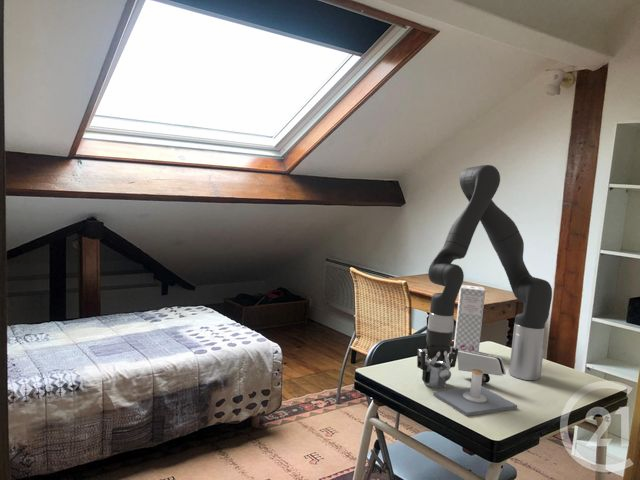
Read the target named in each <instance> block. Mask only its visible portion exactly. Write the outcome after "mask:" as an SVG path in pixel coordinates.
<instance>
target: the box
mask: <svg viewBox="0 0 640 480" xmlns="http://www.w3.org/2000/svg"><path fill="white" fill-rule="evenodd" d="M485 296H486V289H485V288H484V286H478V285H477V286H476V285H470V284H469V285H467V284H462V286H461V288H460V290H459V293H458V301H457V302H458V303H457V312H456V321H455V330H454V340H453V341H454V343H453V347H455V348H457V349H458V351H461V350H464V351H470V352H475V353H480V352H479V351H480V342H481V333H482V325H483V324H482V323H483V315H484V306H485Z"/></svg>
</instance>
